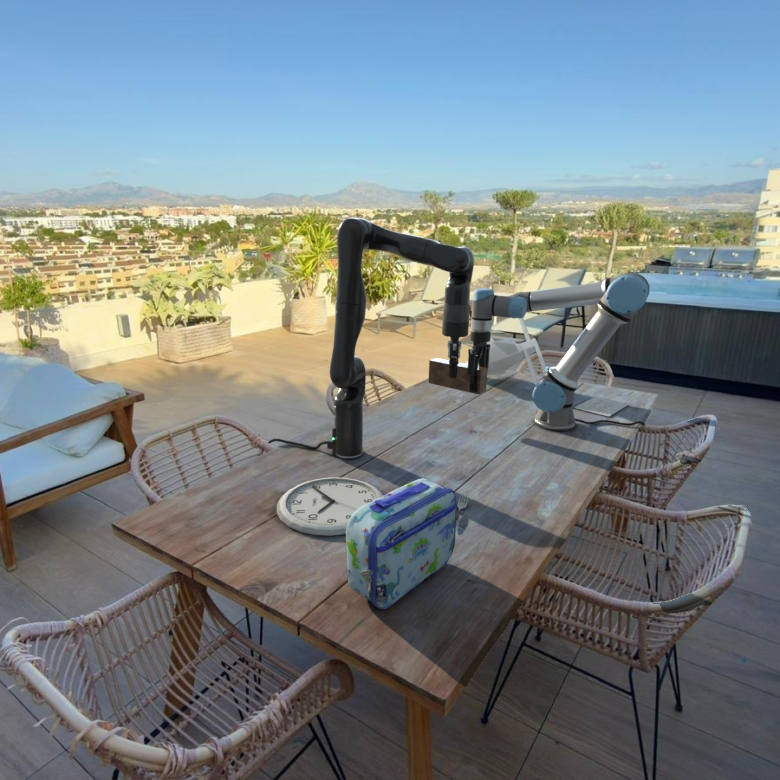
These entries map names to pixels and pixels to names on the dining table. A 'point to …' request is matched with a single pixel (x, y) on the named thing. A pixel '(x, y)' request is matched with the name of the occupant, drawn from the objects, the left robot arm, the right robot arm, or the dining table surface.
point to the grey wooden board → (601, 406)
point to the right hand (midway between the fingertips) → (476, 389)
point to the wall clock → (324, 504)
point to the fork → (461, 506)
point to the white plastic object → (513, 354)
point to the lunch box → (400, 540)
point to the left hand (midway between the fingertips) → (452, 373)
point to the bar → (461, 382)
